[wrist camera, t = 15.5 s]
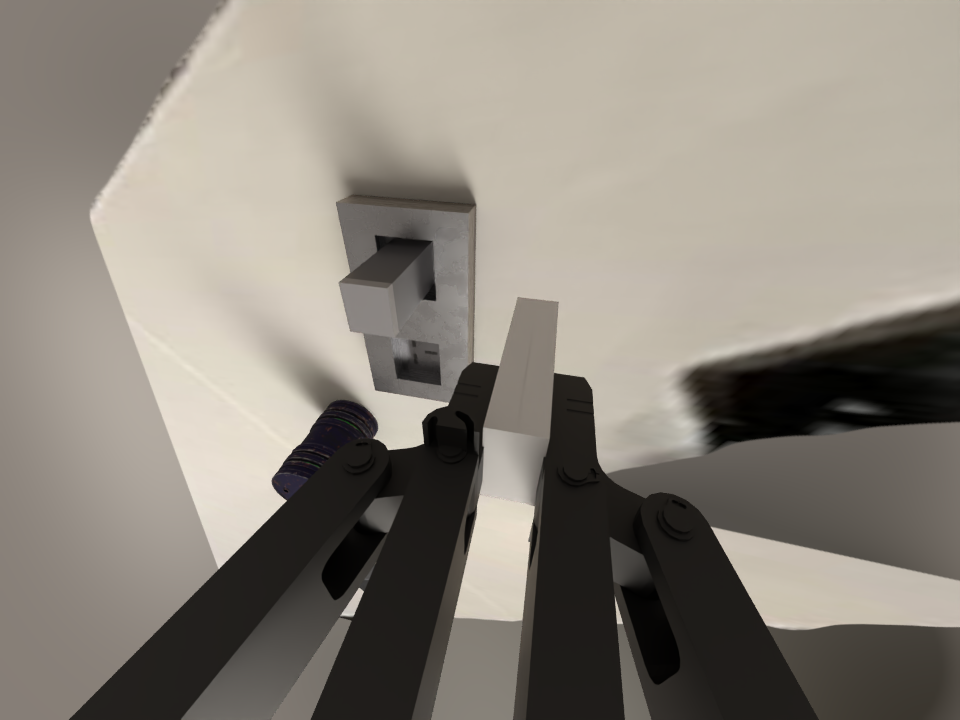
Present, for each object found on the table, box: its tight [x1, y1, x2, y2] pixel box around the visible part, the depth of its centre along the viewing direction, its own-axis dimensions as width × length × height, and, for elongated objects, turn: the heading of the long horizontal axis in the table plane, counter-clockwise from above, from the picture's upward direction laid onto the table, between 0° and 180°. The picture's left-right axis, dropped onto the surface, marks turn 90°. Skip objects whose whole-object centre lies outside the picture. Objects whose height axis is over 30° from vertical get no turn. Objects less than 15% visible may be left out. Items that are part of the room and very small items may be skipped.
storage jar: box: [272, 400, 378, 500], centre depth 57 cm, size 10×10×15 cm
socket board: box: [336, 195, 476, 403], centre depth 44 cm, size 14×26×4 cm, turn 178°
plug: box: [339, 238, 434, 338], centre depth 36 cm, size 4×5×12 cm
